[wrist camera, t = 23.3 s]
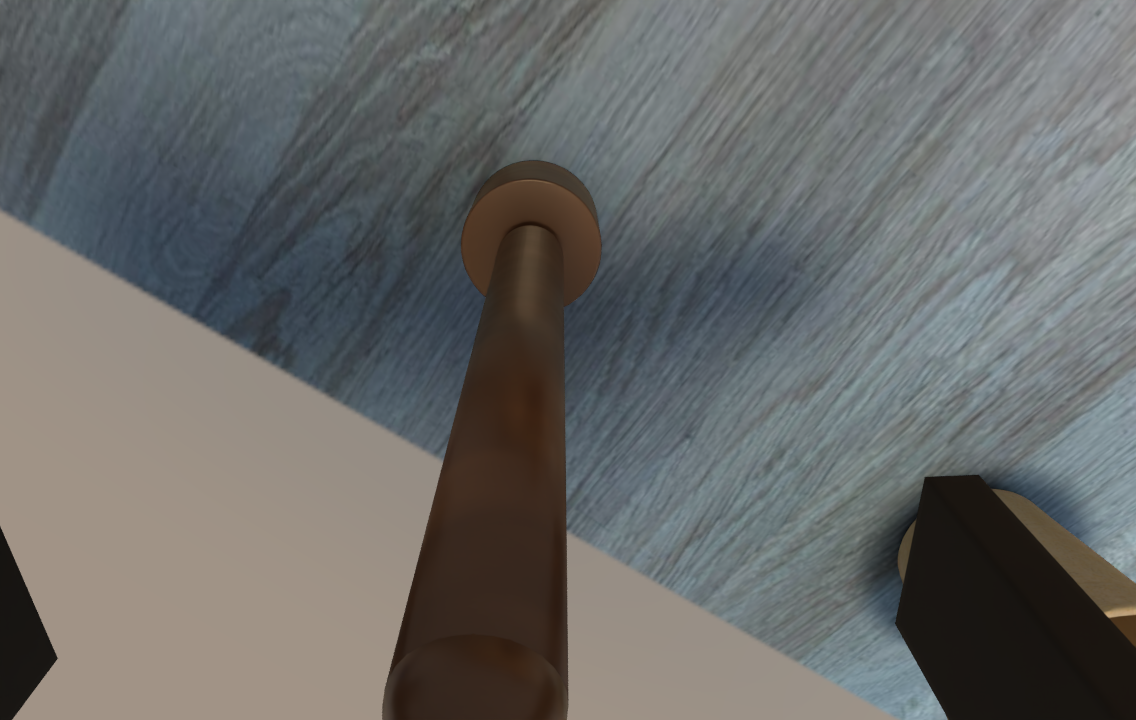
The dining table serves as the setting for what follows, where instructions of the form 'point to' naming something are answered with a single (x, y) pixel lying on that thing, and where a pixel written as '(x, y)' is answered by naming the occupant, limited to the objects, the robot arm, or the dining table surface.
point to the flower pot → (1067, 563)
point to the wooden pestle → (503, 471)
